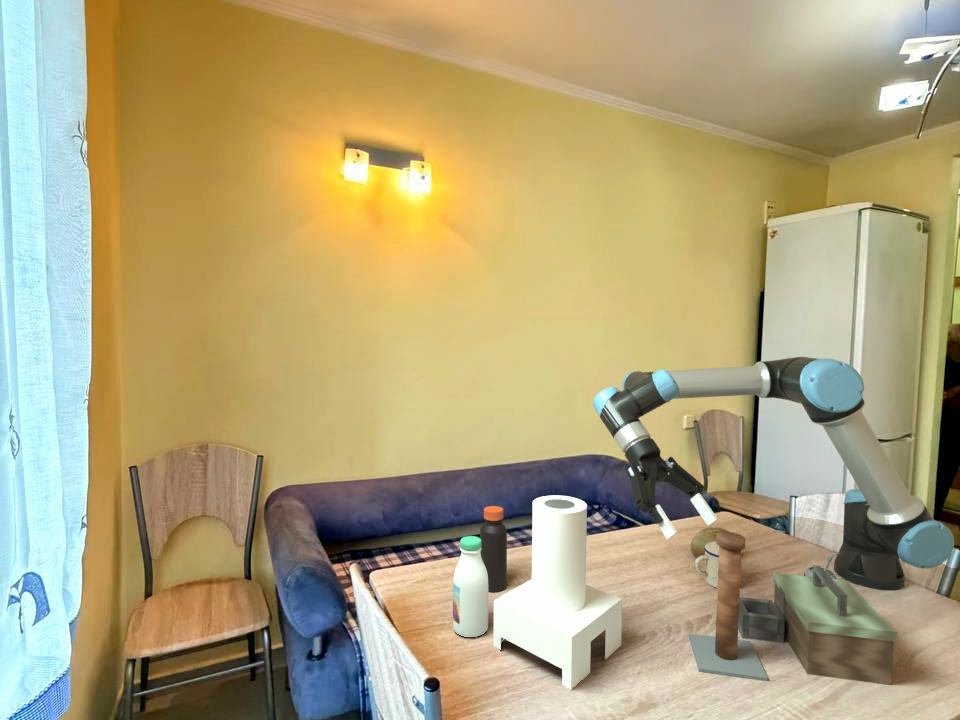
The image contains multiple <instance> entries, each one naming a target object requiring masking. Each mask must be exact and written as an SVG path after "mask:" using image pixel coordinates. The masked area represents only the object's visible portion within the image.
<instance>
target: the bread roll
mask: <svg viewBox="0 0 960 720" xmlns="http://www.w3.org/2000/svg"><path fill="white" fill-rule="evenodd" d="M718 532H730V530H727V529H725V528H723V527H705V528H703V529H701V530H699V531H698V532H697V533H696V534H695V535H694V537H692V540H691V543H690V552H691V554H692V555H693V556H694V557H696V558H698V557H699V556H702V555H705V550H704V547H705V545H706V544H707V543H709V542H713V541H716V534H717V533H718Z"/></svg>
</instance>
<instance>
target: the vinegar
mask: <svg viewBox="0 0 960 720" xmlns="http://www.w3.org/2000/svg"><path fill="white" fill-rule="evenodd" d="M483 520H484V523H483V524H482V525H481V527H480V529H479V538H480V539H481V543H482V544H481V551H480V554H481V558H482V560H483V563H484V565H485V567H486V570H487V574H488V591H491V592H490V593H498V592H497V591H499V592H502V591H503V590H505V589H506V587H507V569H508V568H507V566H508V563H507V561H508V557H507V556H508V529H507V526H505V524H504V523H503V520H504V508H503V507H500V506H498V505H497V506H496V505H490V506H486V507H484V508H483ZM501 590H502V591H501Z"/></svg>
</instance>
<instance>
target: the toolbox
mask: <svg viewBox="0 0 960 720" xmlns="http://www.w3.org/2000/svg"><path fill="white" fill-rule="evenodd" d="M812 567H813V577H809V576H804V575H797V574H789V573H788V574H786V573H777V572H773V578H772V582H773V583H774V598H773V600H770V599H764V598H763V599H762V598H761V599H760V598H754V597H753V598H752V597H743V596H740V600H739V623H738V633H739V634H740V636H741V638H742V639H750V640H758V641H759V640H760V641H767V642H773V643H774V642H775V643H782V644H783V643H784V642H785V640H786V641H787V643H788V644H789V646H790V647H791V649H792V651H793V653H794V655H796V658H797V659H798V661H799V662H800V664H801V666H802V667H803V670H804V671H805V673H806V674H807V675H811V676H812V675H814V676H822V677H828V678H837V679H842V680H851V681H858V682H859V681H860V682H865V683H866V682H867V683H875V684H880V685H881V684H882V685H890V686H892V685H893V684H892V682H893V663H894V661H893V660H894V642H896V643H897V642H898V641H897V637H898V631H896V629H895V628H894V627H892V625H891V624H890V623H889V622H888V621H887V620H886V619H885V618H884V617H883V616H882V615H881V614H880V613H879V612H878V611H877V610H876V608H874V607H873V606H872V605H871V604H870V603H869V602H868V600H866V599H865V598H864V597H863V595H861V594H860V593H859V592H858V591H857V590H856V589H855V587H853V585H852V584H850V582H849V581H848V580H846V579H841V578H840V579H838V578H837V579H832V578H831V577H830V576H829V575H828V574H827V573H826V572H825V571H824V570H823V569H822V568H823V567H822V566H820V565H816V564H813V566H812ZM821 567H822V568H821Z"/></svg>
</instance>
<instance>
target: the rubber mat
mask: <svg viewBox="0 0 960 720" xmlns="http://www.w3.org/2000/svg"><path fill="white" fill-rule="evenodd" d="M688 639H689V642H690V645H691V649H692V653H693V656H694V660H695V663H696V666H697V669H698V672H700V673H707V674H715V675H722V676H729V677H736V678H742V679H743V678H744V679H749V680H756V681H758V680H759V681H765V682H768V680H769V678H768V676H767V673H766V672H765V669H764V667H763V665H762V662H761V661H760V658H759V657H758V654H757V653H756V651H755V649H754V646H753V644H752V642H751V640H744V639H738V647H737V659H735V660H725V659H722V658H720V657H719V656H717V655H716V653H715V639H716V636H713V635H705V634H703V635H702V634H695V633H688Z"/></svg>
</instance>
